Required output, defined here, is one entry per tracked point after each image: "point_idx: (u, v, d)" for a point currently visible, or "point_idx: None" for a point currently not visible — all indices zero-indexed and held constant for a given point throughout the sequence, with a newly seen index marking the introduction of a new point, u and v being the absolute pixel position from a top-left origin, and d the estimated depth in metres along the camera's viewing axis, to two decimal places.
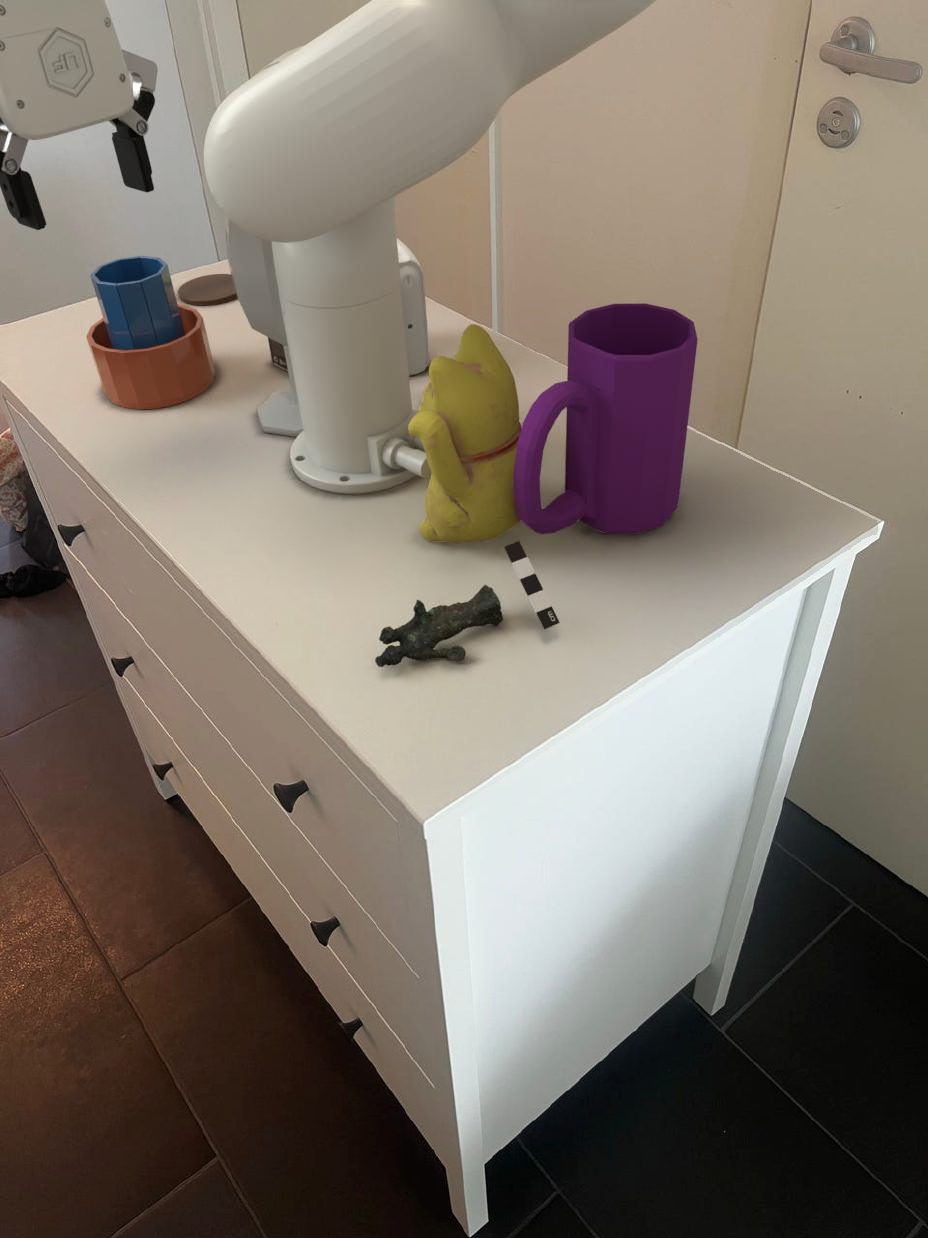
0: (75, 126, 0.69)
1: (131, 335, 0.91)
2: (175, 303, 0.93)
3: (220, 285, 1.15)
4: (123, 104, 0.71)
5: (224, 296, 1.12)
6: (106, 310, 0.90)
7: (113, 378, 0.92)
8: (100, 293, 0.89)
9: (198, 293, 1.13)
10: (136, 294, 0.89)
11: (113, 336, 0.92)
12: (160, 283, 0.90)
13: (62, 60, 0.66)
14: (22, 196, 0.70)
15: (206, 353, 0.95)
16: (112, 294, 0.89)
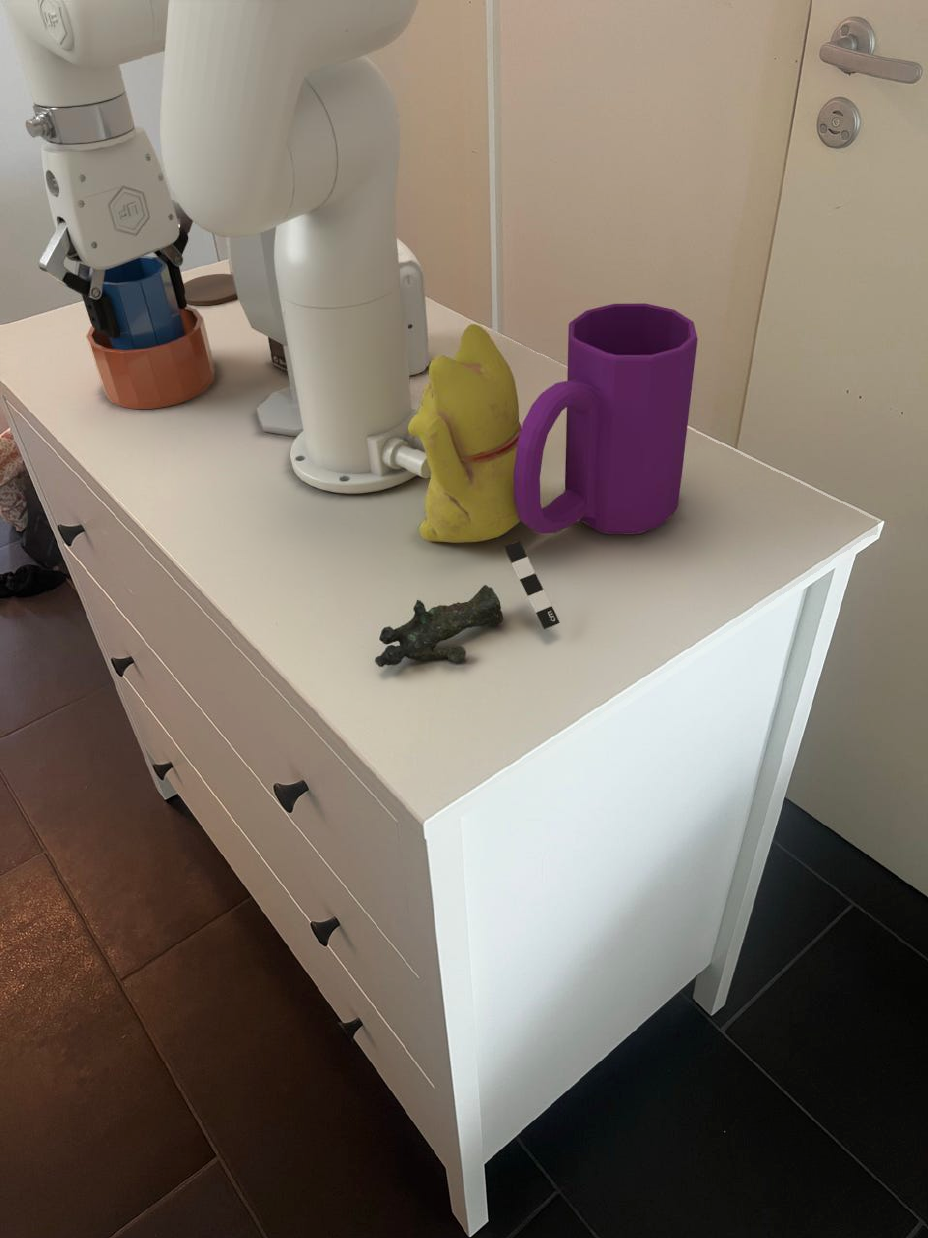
0: (134, 257, 0.87)
1: (131, 335, 0.91)
2: (175, 303, 0.93)
3: (220, 285, 1.15)
4: (171, 236, 0.89)
5: (224, 296, 1.12)
6: None
7: (113, 378, 0.92)
8: None
9: (198, 293, 1.13)
10: (136, 294, 0.89)
11: None
12: (160, 283, 0.90)
13: (126, 209, 0.85)
14: (102, 314, 0.89)
15: (206, 353, 0.95)
16: (112, 293, 0.89)
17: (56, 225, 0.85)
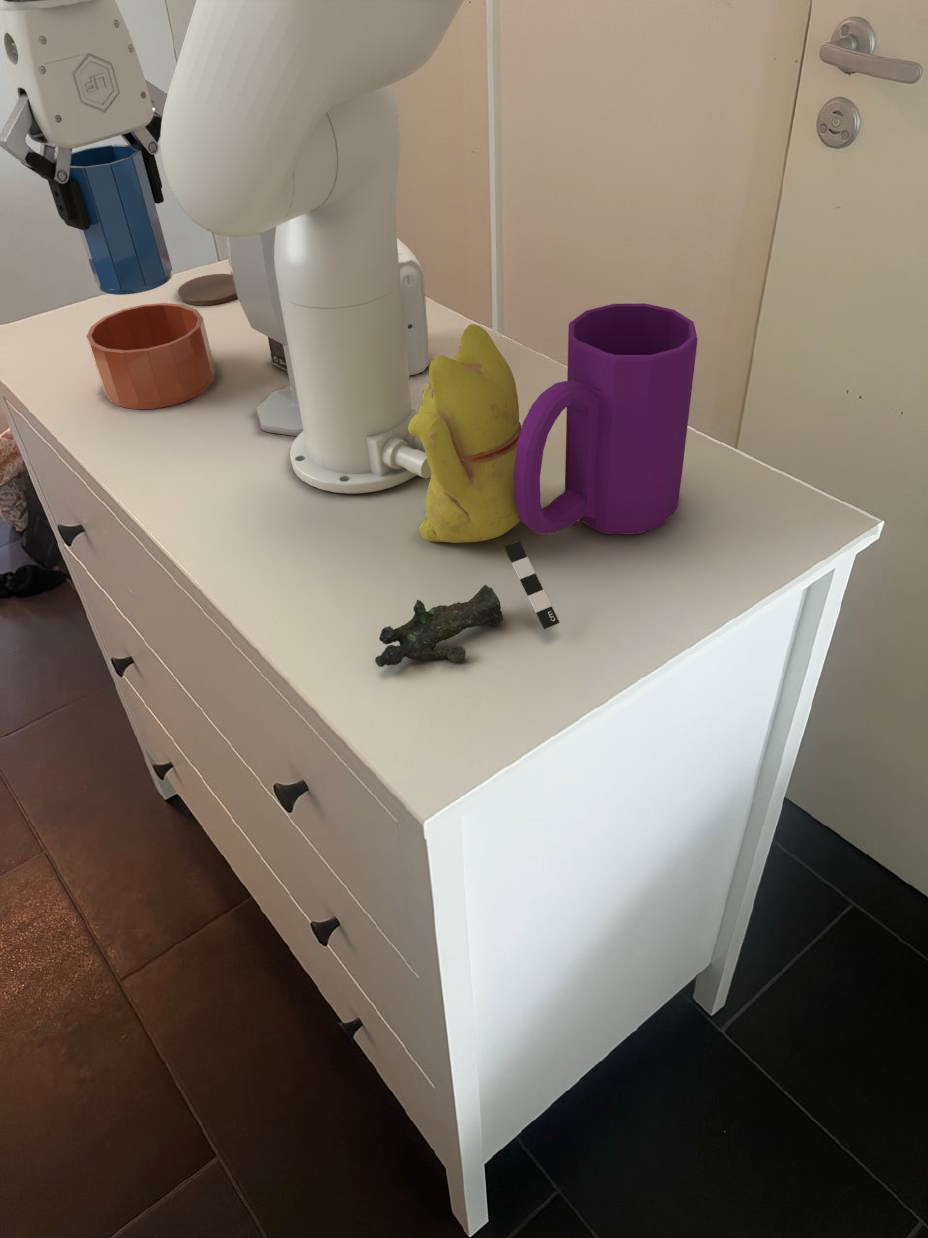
0: (103, 136, 0.81)
1: (102, 226, 0.84)
2: (150, 194, 0.86)
3: (220, 285, 1.15)
4: (144, 117, 0.83)
5: (224, 296, 1.12)
6: None
7: (113, 378, 0.92)
8: None
9: (198, 293, 1.13)
10: (106, 179, 0.82)
11: (83, 230, 0.85)
12: (132, 168, 0.83)
13: (93, 81, 0.78)
14: (70, 201, 0.83)
15: (206, 353, 0.95)
16: (80, 179, 0.82)
17: (17, 99, 0.78)
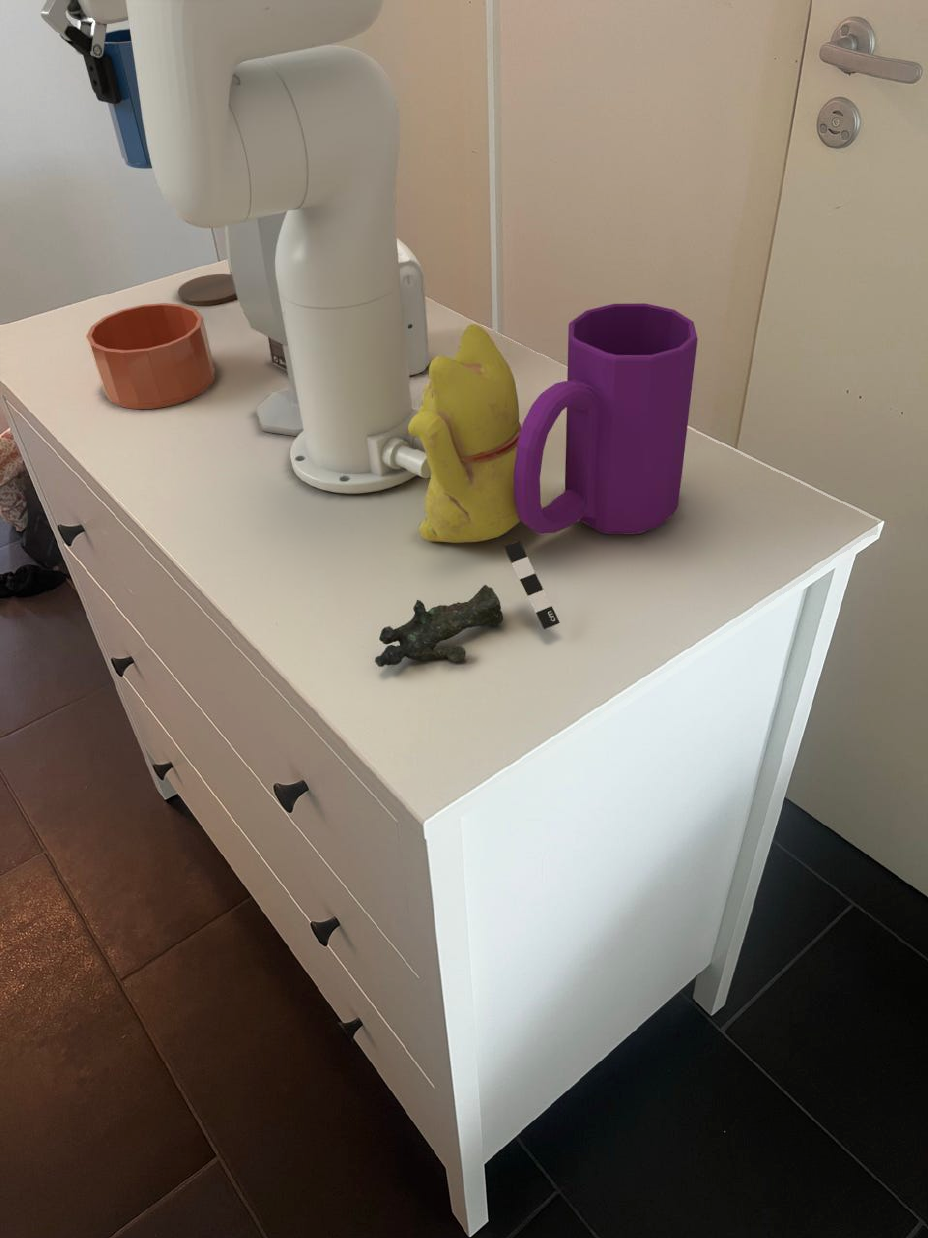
0: None
1: (132, 101, 0.92)
2: None
3: (220, 285, 1.15)
4: None
5: (224, 296, 1.12)
6: None
7: (113, 378, 0.92)
8: None
9: (198, 293, 1.13)
10: None
11: (114, 104, 0.93)
12: None
13: None
14: (104, 76, 0.90)
15: (206, 353, 0.95)
16: (113, 54, 0.90)
17: None
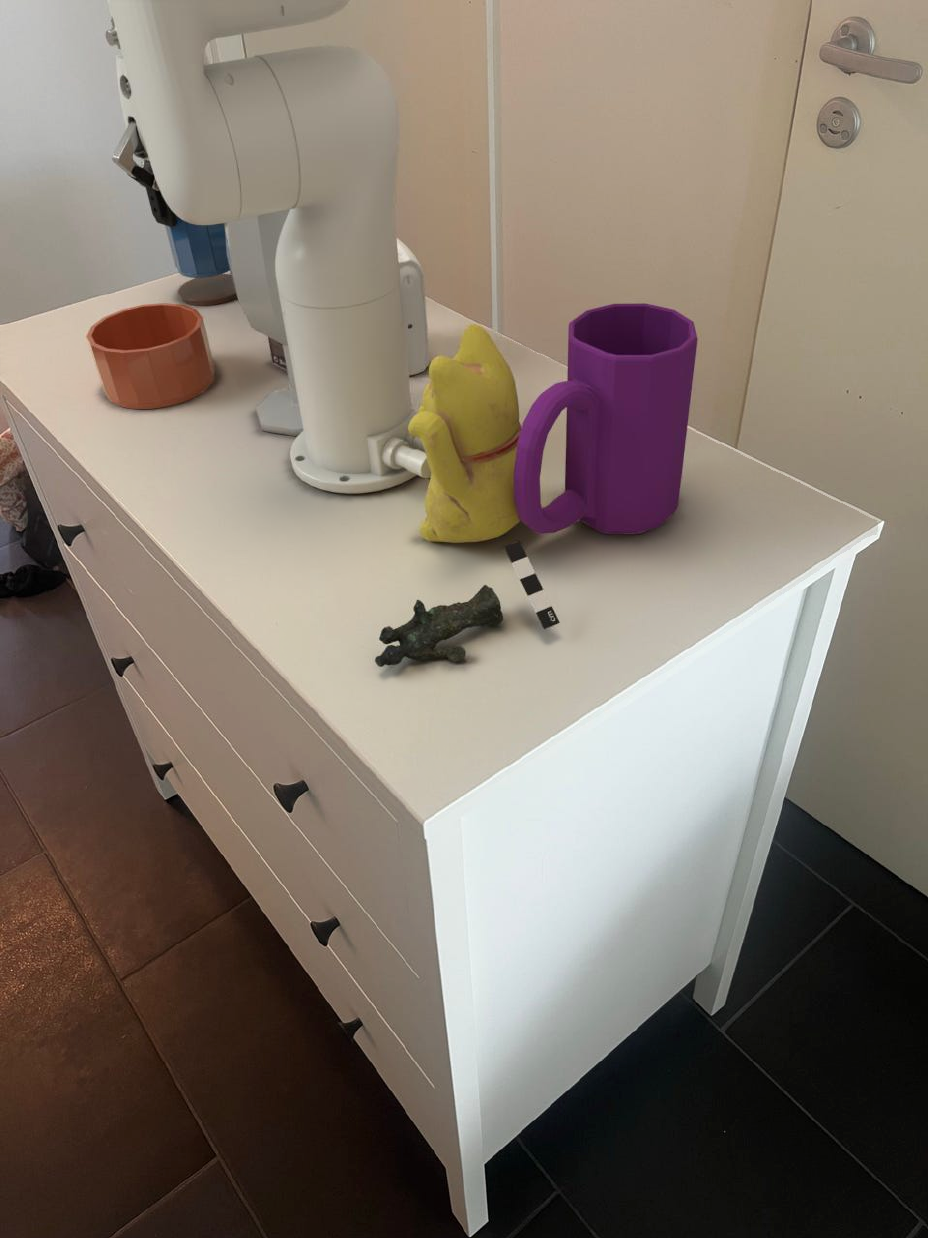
0: None
1: (186, 224, 1.07)
2: None
3: (220, 285, 1.15)
4: None
5: (224, 296, 1.12)
6: None
7: (113, 378, 0.92)
8: None
9: (198, 293, 1.13)
10: None
11: None
12: None
13: None
14: (163, 204, 1.05)
15: (206, 353, 0.95)
16: None
17: (126, 125, 1.00)
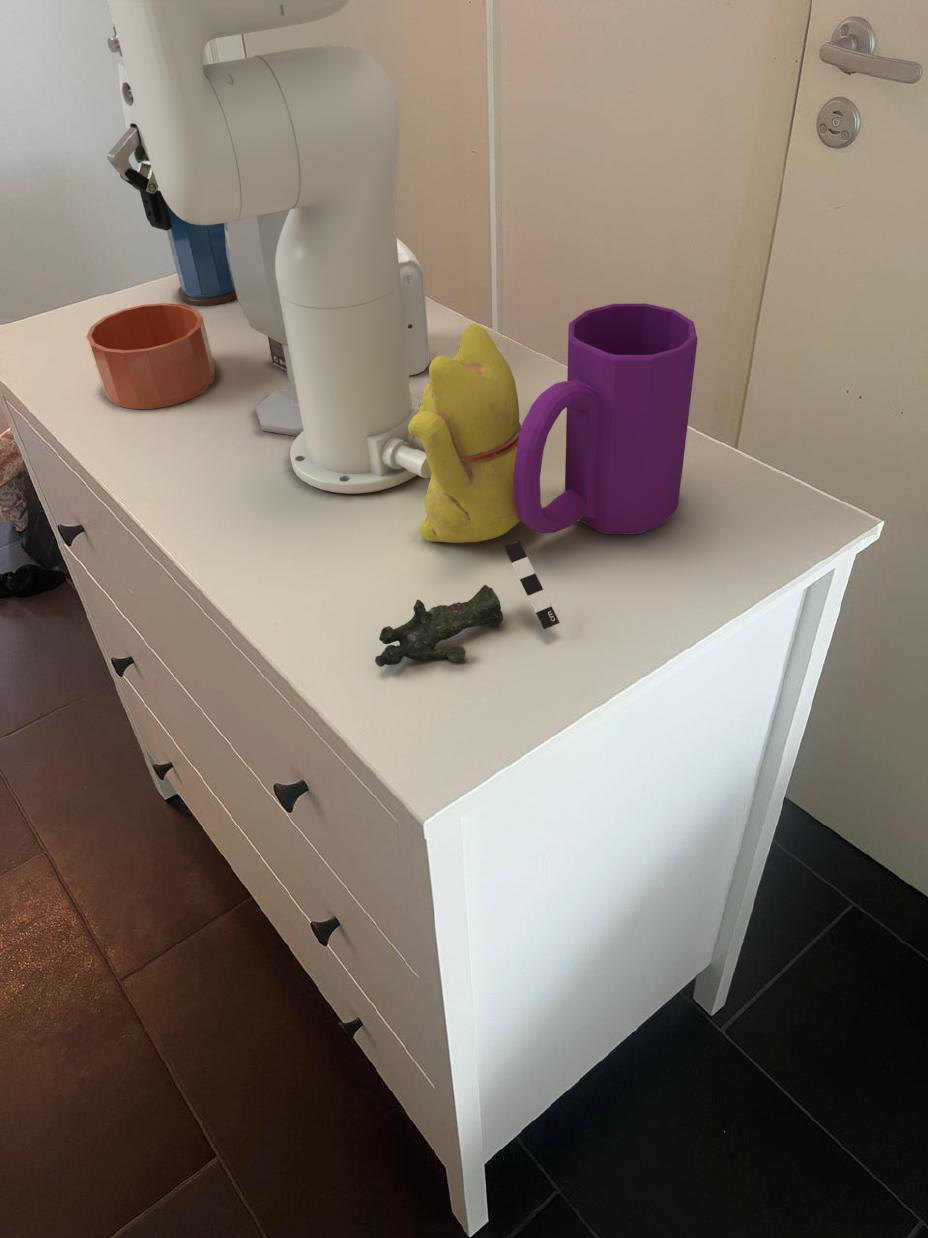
0: None
1: (191, 245, 1.08)
2: None
3: None
4: None
5: (224, 296, 1.12)
6: (171, 224, 1.07)
7: (113, 378, 0.92)
8: None
9: None
10: None
11: (175, 247, 1.09)
12: None
13: None
14: (157, 207, 1.04)
15: (206, 353, 0.95)
16: None
17: None
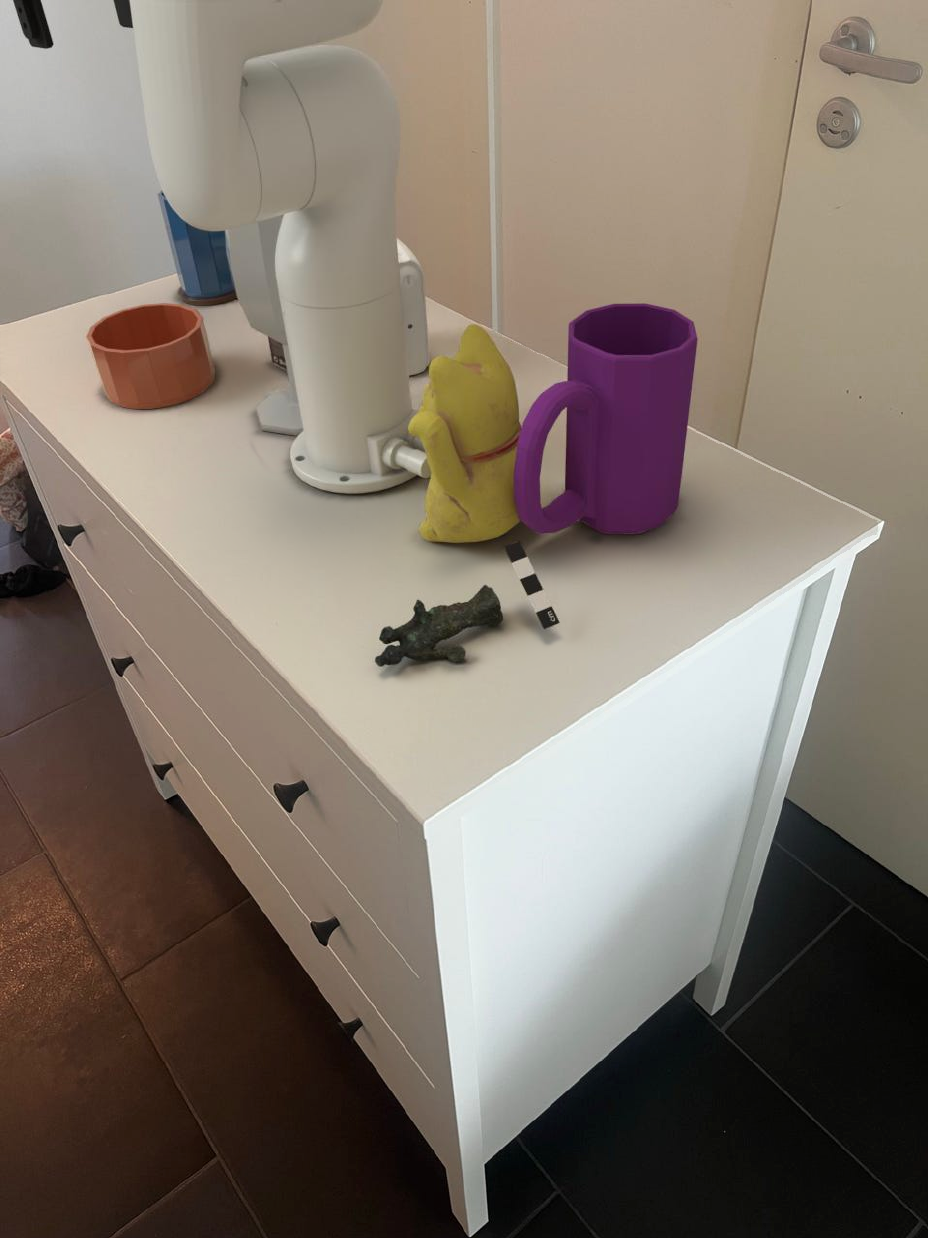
0: None
1: (191, 245, 1.08)
2: None
3: None
4: None
5: (224, 296, 1.12)
6: (171, 224, 1.07)
7: (113, 378, 0.92)
8: (166, 209, 1.06)
9: None
10: None
11: (175, 247, 1.09)
12: None
13: None
14: (34, 18, 0.86)
15: (206, 353, 0.95)
16: None
17: None
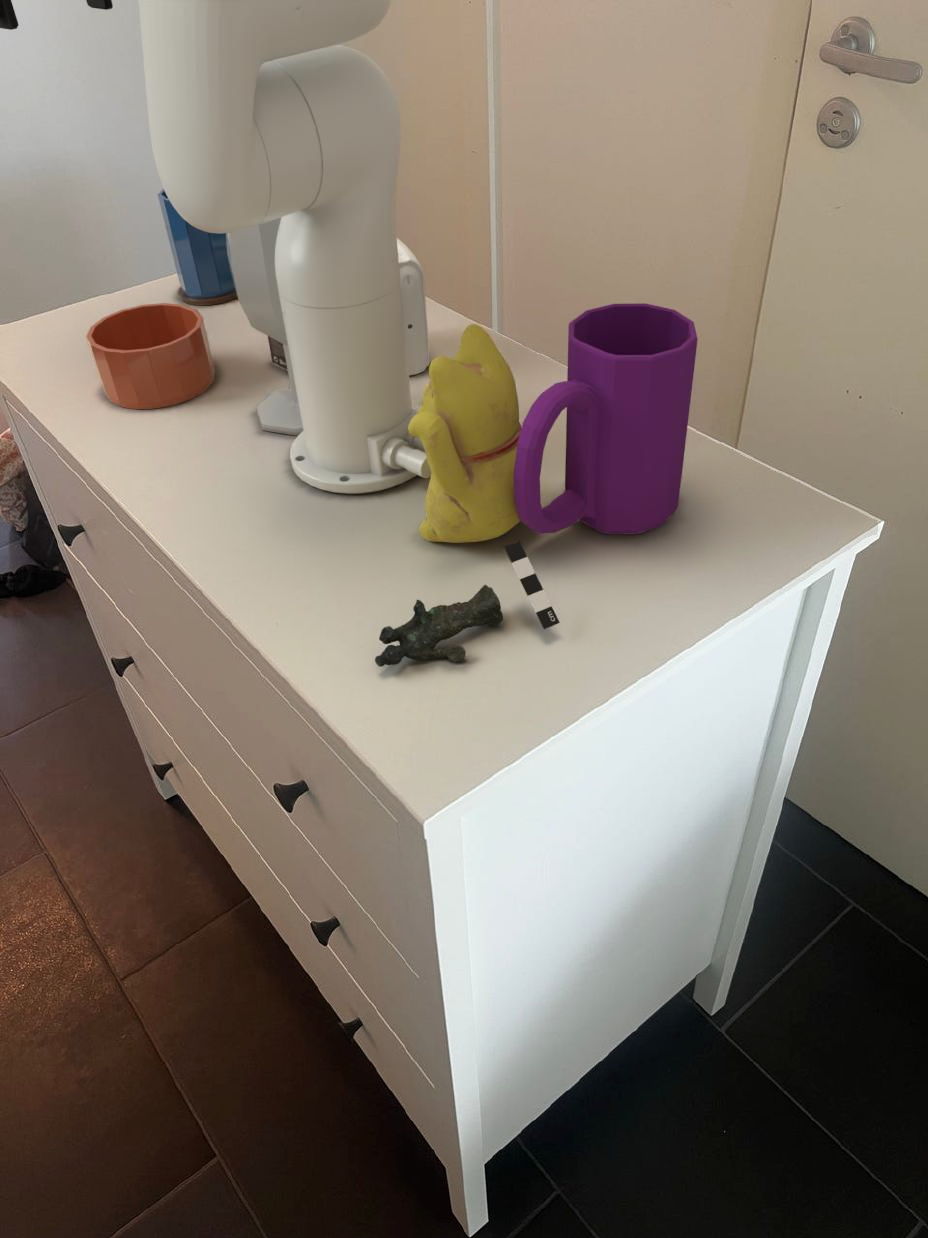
0: None
1: (191, 245, 1.08)
2: None
3: None
4: None
5: (224, 296, 1.12)
6: (171, 224, 1.07)
7: (113, 378, 0.92)
8: (166, 209, 1.06)
9: None
10: None
11: (175, 247, 1.09)
12: None
13: None
14: None
15: (206, 353, 0.95)
16: None
17: None
